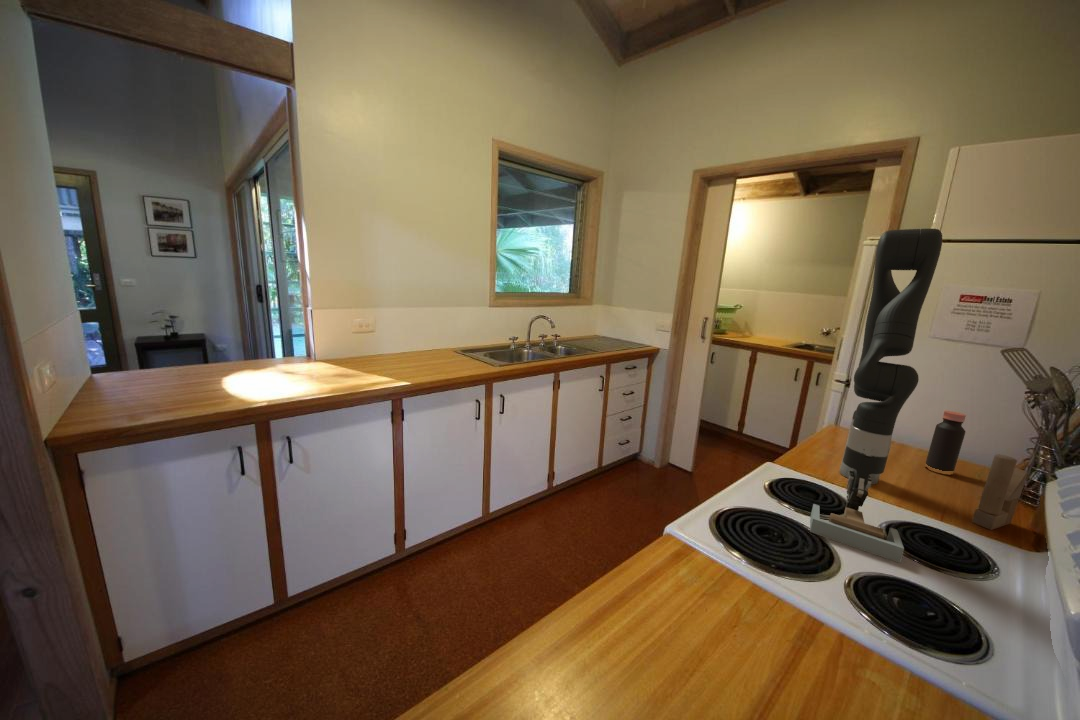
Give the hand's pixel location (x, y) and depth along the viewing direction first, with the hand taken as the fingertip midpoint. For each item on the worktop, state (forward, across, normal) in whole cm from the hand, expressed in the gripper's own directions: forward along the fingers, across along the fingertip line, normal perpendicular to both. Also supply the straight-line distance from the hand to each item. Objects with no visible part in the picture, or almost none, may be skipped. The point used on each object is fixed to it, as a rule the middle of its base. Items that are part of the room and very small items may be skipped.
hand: (849, 516), depth 95 cm
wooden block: (+2, -26, +30) cm, 40 cm away
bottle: (+2, -64, +27) cm, 69 cm away
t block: (+1, +7, 0) cm, 7 cm away
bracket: (+1, +8, 0) cm, 8 cm away
